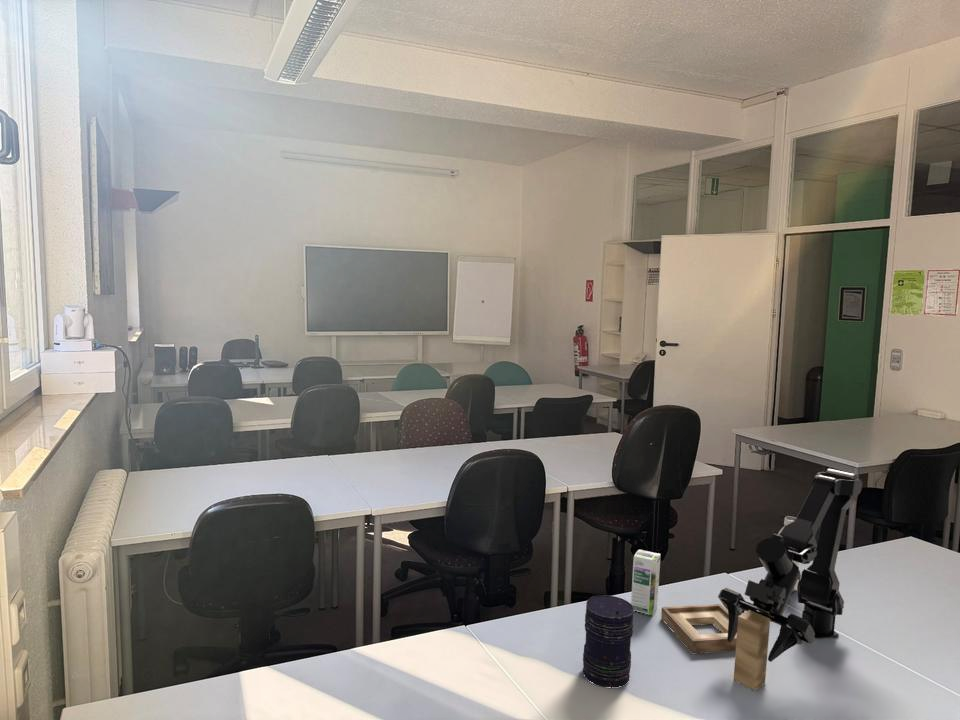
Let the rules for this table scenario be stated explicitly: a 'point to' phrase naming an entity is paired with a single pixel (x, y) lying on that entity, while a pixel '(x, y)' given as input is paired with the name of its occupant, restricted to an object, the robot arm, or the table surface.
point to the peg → (751, 649)
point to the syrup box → (645, 581)
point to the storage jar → (608, 640)
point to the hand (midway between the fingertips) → (748, 651)
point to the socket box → (687, 616)
